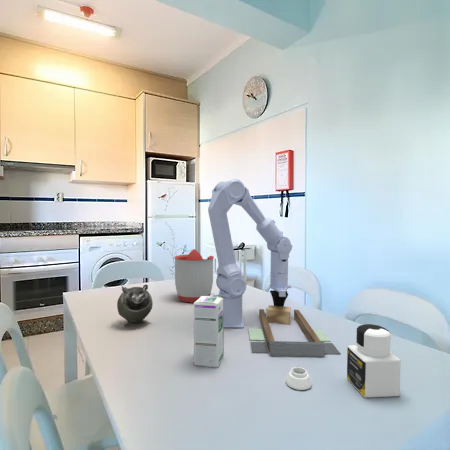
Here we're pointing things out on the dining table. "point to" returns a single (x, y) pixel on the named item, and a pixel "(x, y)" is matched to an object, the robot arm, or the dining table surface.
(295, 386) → the lidless jar
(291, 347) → the trap bay
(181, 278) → the citrus juicer
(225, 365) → the dining table surface
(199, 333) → the syrup box
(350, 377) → the medicine bottle
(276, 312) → the oak block
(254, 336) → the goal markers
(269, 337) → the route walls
